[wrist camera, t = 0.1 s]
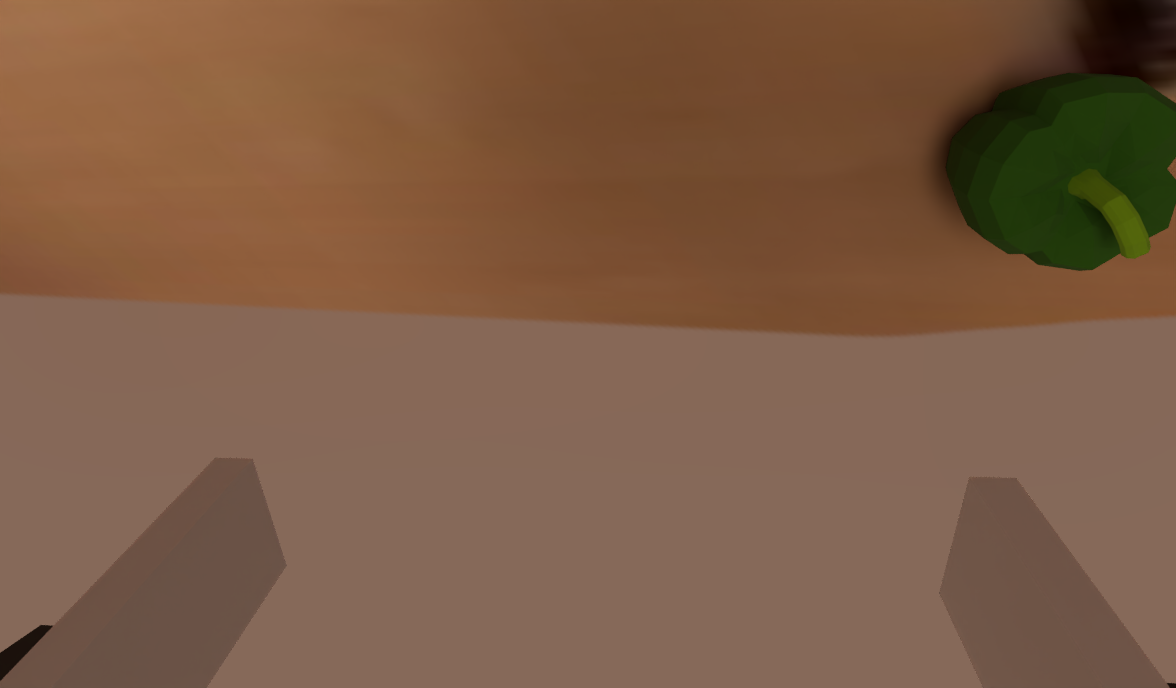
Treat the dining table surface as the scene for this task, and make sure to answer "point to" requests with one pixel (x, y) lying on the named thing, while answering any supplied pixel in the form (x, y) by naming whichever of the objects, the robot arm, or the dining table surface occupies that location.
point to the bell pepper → (1069, 169)
